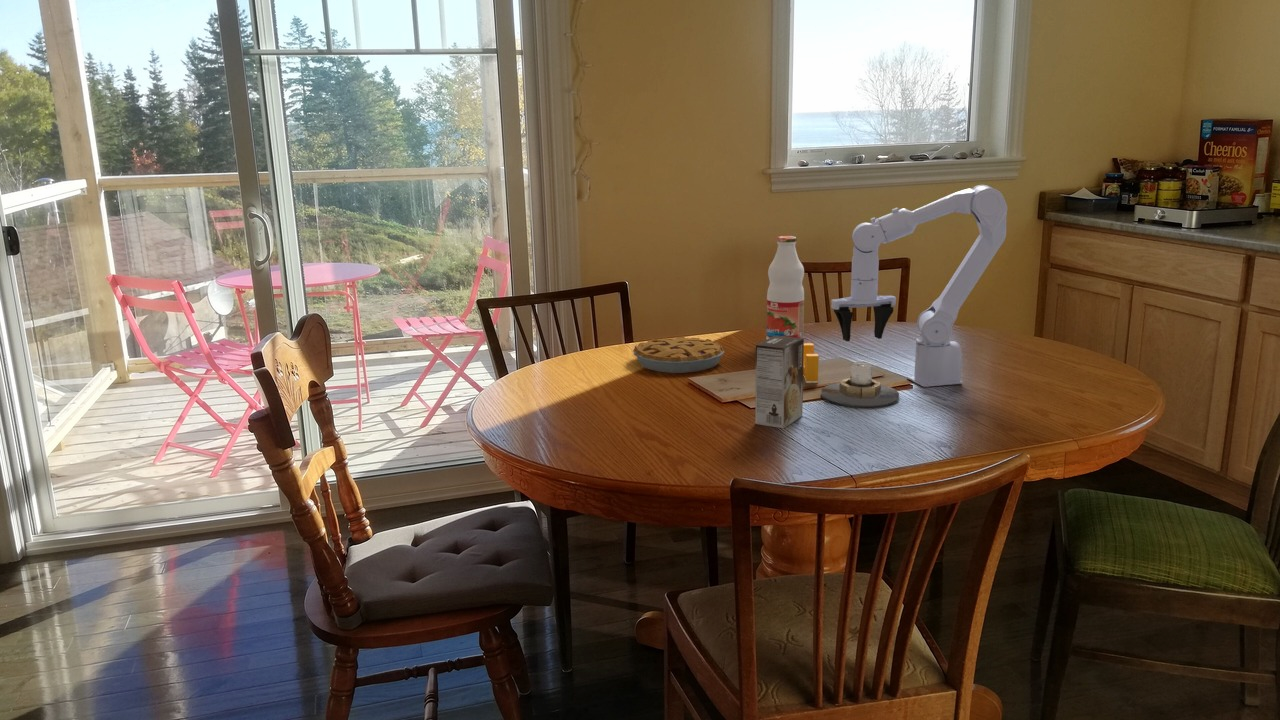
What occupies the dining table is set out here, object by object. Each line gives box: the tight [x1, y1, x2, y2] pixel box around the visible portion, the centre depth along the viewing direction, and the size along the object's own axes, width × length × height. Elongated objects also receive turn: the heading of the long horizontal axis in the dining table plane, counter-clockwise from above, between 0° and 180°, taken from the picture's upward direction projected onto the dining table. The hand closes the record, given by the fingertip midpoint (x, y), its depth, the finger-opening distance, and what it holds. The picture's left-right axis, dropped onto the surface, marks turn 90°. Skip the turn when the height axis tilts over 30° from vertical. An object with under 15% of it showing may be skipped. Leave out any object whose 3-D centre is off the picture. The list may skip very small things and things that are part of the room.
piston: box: [850, 361, 873, 387], centre depth 201 cm, size 4×4×6 cm
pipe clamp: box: [803, 342, 820, 382], centre depth 218 cm, size 12×4×6 cm, turn 176°
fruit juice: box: [766, 235, 805, 340], centre depth 245 cm, size 9×9×28 cm
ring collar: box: [820, 378, 900, 409], centre depth 202 cm, size 16×16×3 cm
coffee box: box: [754, 336, 805, 429], centre depth 186 cm, size 9×6×16 cm
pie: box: [633, 336, 725, 374], centre depth 233 cm, size 22×22×5 cm
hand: (862, 339), depth 213 cm, fingers open, 7 cm apart
